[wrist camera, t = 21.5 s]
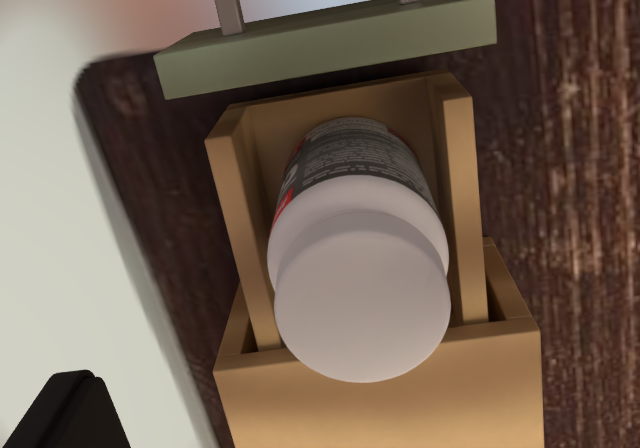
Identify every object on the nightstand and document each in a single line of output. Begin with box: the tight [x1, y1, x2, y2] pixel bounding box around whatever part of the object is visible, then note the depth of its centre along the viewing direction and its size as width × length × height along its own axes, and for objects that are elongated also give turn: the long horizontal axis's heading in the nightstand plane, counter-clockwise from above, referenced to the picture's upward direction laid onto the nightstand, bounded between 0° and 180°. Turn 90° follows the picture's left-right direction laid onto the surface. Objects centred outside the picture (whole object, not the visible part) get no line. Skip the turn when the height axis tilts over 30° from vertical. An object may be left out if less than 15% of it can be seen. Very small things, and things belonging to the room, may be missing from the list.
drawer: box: [153, 0, 497, 352], centre depth 19 cm, size 16×9×5 cm, turn 10°
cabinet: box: [213, 236, 544, 448], centre depth 24 cm, size 13×10×7 cm
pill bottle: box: [267, 117, 451, 383], centre depth 18 cm, size 5×5×8 cm
